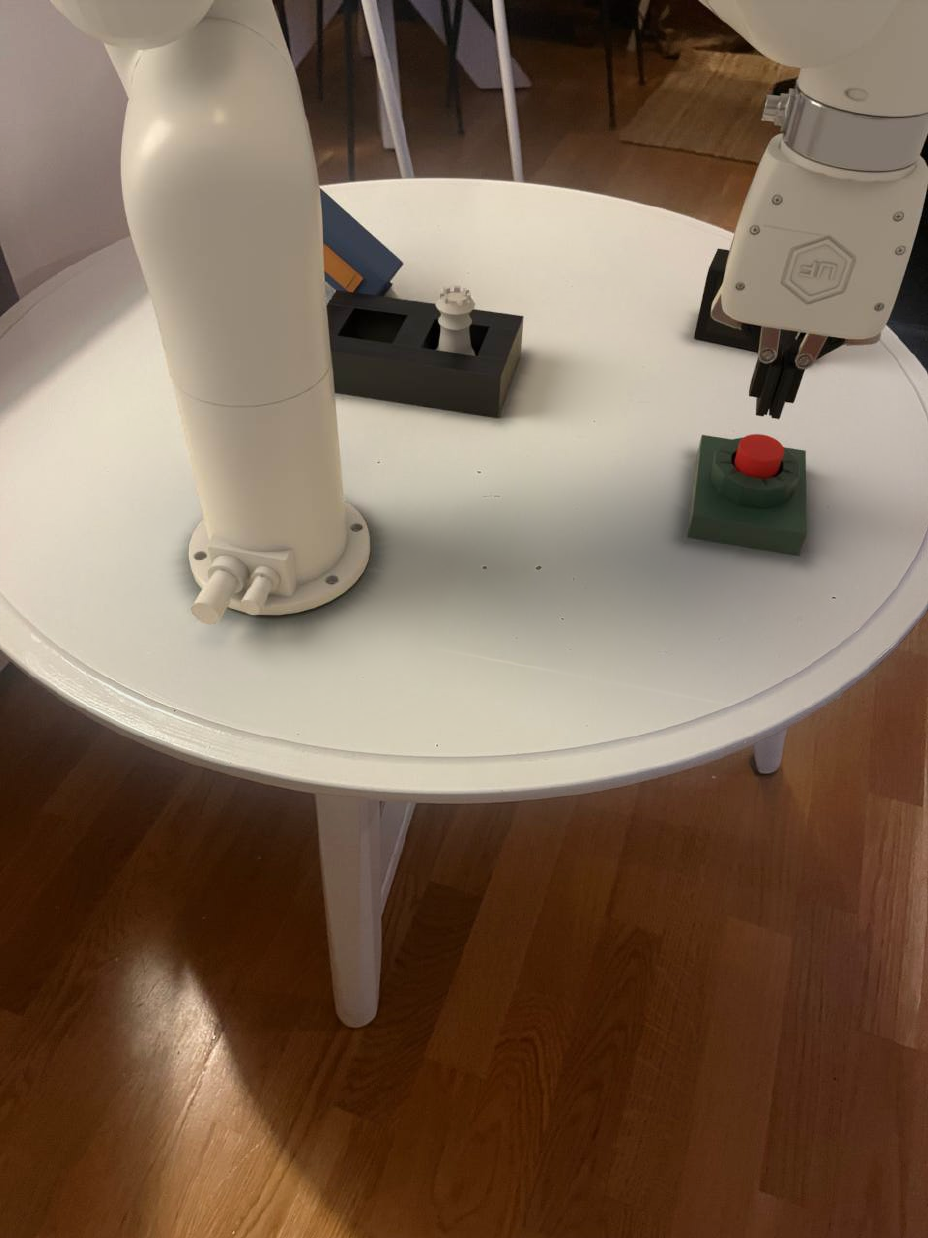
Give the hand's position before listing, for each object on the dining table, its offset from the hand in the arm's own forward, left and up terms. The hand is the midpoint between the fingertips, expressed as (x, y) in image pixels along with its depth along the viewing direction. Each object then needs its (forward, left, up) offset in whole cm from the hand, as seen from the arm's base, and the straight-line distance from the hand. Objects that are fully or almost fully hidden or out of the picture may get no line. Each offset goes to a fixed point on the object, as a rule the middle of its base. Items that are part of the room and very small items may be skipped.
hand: (767, 405), depth 68 cm
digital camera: (+25, 0, -9) cm, 27 cm away
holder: (+11, +29, -9) cm, 32 cm away
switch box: (0, 0, -9) cm, 9 cm away
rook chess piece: (+11, +25, -9) cm, 29 cm away
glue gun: (+21, +44, -9) cm, 49 cm away
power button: (0, 0, -5) cm, 5 cm away
